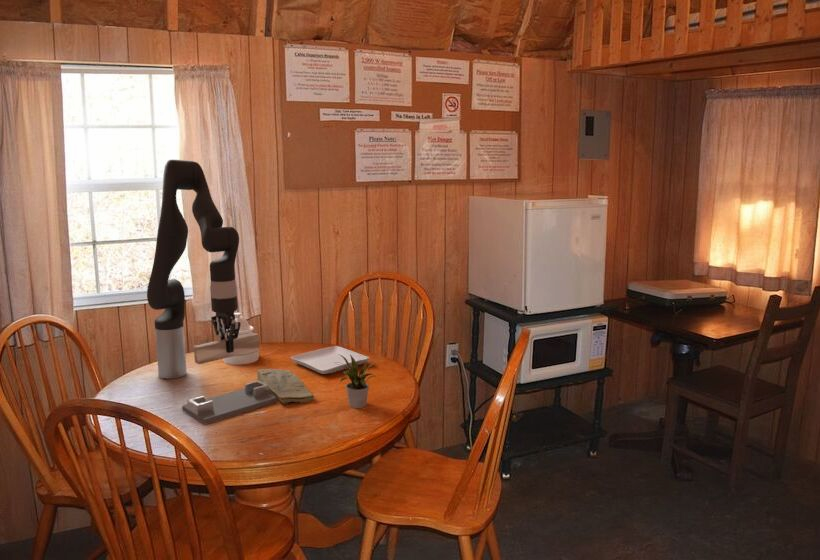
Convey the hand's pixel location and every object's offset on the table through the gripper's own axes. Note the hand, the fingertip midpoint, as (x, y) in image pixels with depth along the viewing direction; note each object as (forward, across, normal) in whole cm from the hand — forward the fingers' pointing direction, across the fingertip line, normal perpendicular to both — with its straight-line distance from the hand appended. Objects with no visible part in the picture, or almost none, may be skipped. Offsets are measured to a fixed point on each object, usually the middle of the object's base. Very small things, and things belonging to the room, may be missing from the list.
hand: (227, 350), depth 199 cm
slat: (+2, 0, 0) cm, 2 cm away
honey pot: (+17, +38, -26) cm, 49 cm away
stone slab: (+18, +2, -20) cm, 27 cm away
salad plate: (+18, +10, -46) cm, 50 cm away
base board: (+18, 0, 0) cm, 18 cm away
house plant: (+18, -25, -28) cm, 41 cm away
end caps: (+16, 0, 0) cm, 16 cm away
